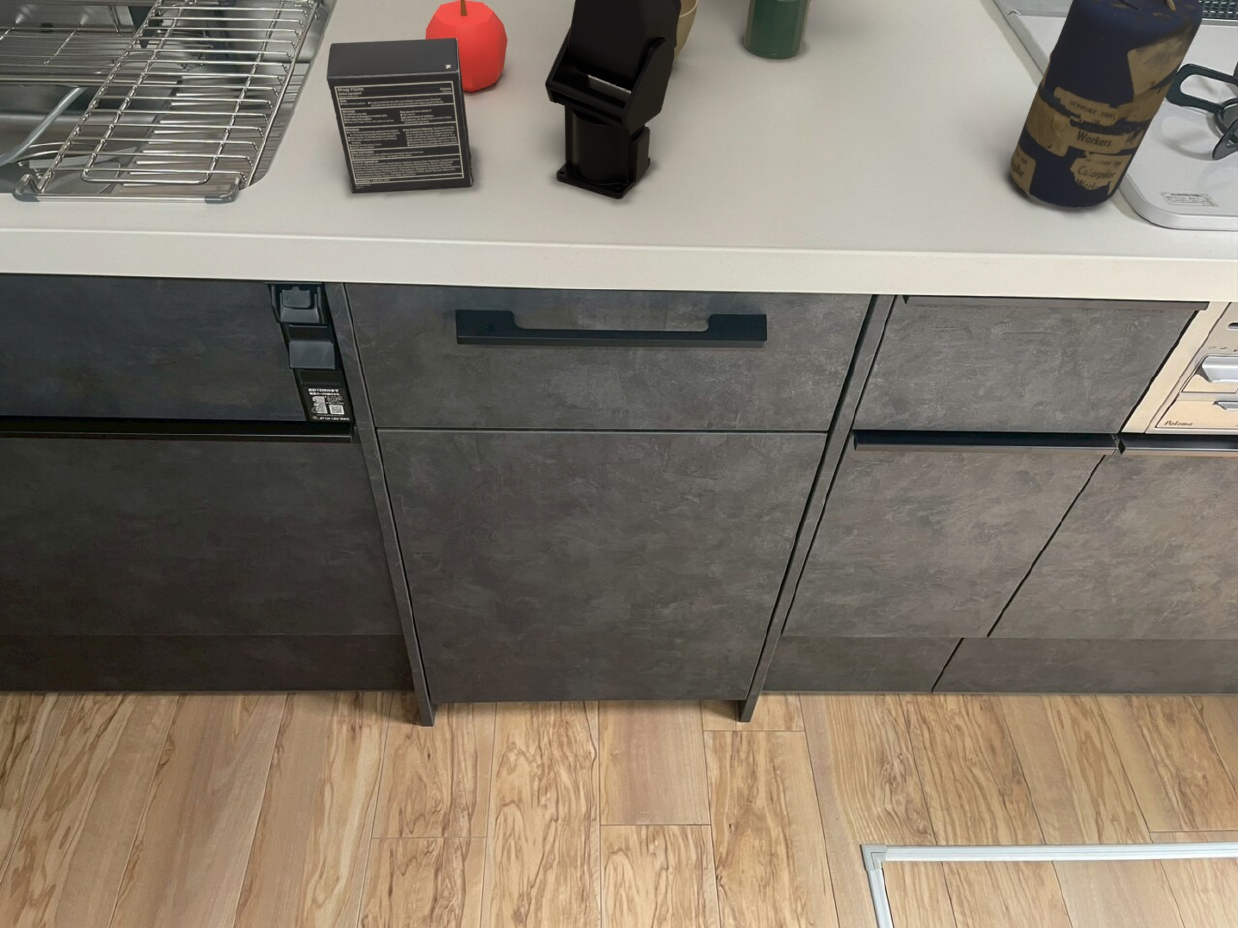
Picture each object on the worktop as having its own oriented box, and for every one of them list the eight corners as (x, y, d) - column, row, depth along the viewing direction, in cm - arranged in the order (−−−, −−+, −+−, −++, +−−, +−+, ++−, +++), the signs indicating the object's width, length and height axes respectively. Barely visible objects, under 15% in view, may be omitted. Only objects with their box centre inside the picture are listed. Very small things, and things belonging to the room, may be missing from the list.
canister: (1034, 221, 81) (1127, 11, 68) (986, 161, 87) (1062, -44, 73) (1133, 211, 83) (1244, 4, 69) (1079, 152, 89) (1171, -50, 75)
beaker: (735, 50, 100) (742, -8, 95) (755, 26, 103) (763, -31, 99) (790, 64, 98) (800, 6, 93) (809, 40, 102) (820, -18, 97)
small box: (471, 147, 86) (459, 33, 78) (474, 188, 82) (462, 72, 74) (352, 153, 85) (329, 38, 77) (350, 195, 81) (324, 77, 73)
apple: (475, 109, 90) (468, 26, 84) (412, 84, 93) (401, 1, 87) (526, 76, 95) (522, -5, 88) (464, 53, 97) (457, -28, 91)
